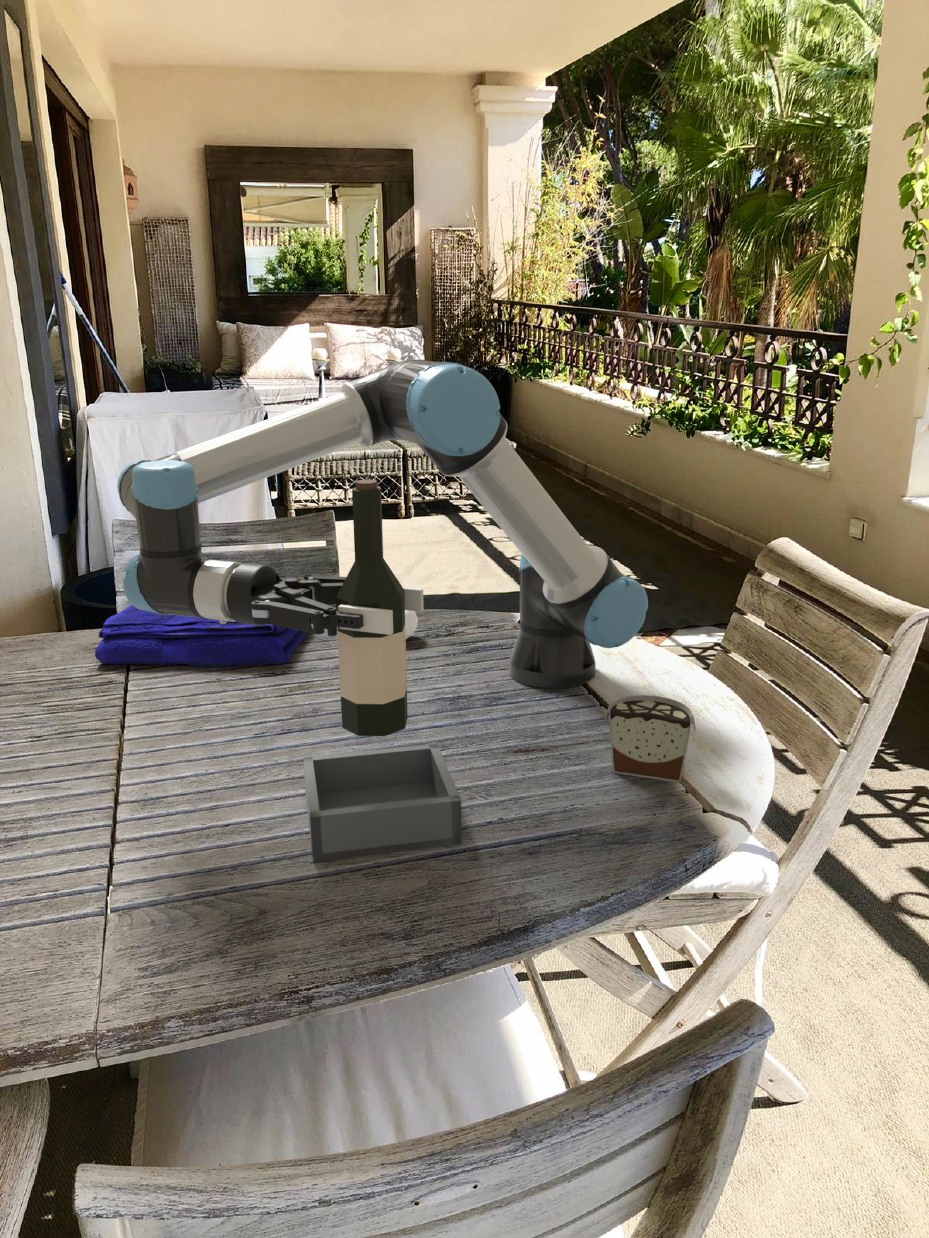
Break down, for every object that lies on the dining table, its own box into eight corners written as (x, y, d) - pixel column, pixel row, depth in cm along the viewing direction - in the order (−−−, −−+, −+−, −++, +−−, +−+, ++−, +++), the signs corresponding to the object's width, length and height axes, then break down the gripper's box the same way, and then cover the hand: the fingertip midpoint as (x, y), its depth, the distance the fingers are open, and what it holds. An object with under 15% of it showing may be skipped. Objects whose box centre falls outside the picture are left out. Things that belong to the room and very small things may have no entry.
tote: (438, 783, 134) (437, 743, 133) (461, 844, 120) (461, 800, 118) (305, 797, 131) (303, 757, 129) (313, 861, 116) (310, 817, 114)
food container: (696, 764, 139) (701, 699, 136) (691, 784, 134) (696, 716, 130) (610, 752, 143) (613, 689, 140) (602, 771, 138) (604, 705, 134)
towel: (145, 624, 203) (140, 583, 200) (315, 625, 201) (313, 584, 198) (92, 670, 178) (86, 624, 175) (286, 672, 176) (283, 626, 173)
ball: (391, 649, 193) (386, 611, 196) (427, 639, 190) (421, 600, 193) (372, 642, 186) (367, 602, 189) (409, 630, 184) (403, 591, 186)
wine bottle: (420, 715, 123) (415, 478, 113) (388, 742, 116) (380, 490, 106) (363, 704, 126) (353, 473, 117) (328, 729, 119) (315, 485, 110)
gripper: (285, 598, 133) (440, 615, 125) (193, 648, 114) (369, 672, 107) (281, 544, 130) (440, 558, 123) (186, 586, 112) (367, 606, 104)
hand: (407, 611), depth 115 cm, fingers closed on wine bottle, 8 cm apart
